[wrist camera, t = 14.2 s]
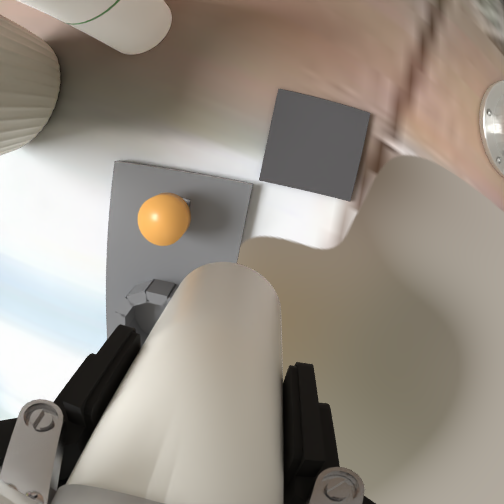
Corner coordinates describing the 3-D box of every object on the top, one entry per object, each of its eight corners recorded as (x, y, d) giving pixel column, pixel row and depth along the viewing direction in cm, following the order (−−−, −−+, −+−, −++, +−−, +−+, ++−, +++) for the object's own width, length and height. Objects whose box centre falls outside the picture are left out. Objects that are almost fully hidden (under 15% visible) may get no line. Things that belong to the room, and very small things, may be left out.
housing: (252, 183, 30) (251, 189, 27) (216, 366, 37) (212, 387, 34) (118, 161, 30) (100, 163, 26) (110, 339, 37) (97, 356, 33)
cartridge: (294, 272, 14) (327, 580, 3) (269, 364, 16) (257, 605, 4) (177, 249, 14) (-3, 492, 3) (169, 344, 16) (74, 560, 4)
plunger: (199, 193, 30) (189, 200, 26) (192, 236, 31) (182, 250, 27) (156, 185, 30) (140, 191, 26) (151, 228, 31) (135, 240, 27)
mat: (368, 113, 28) (370, 113, 27) (348, 200, 30) (350, 201, 30) (278, 89, 27) (278, 88, 27) (259, 179, 30) (259, 180, 30)
